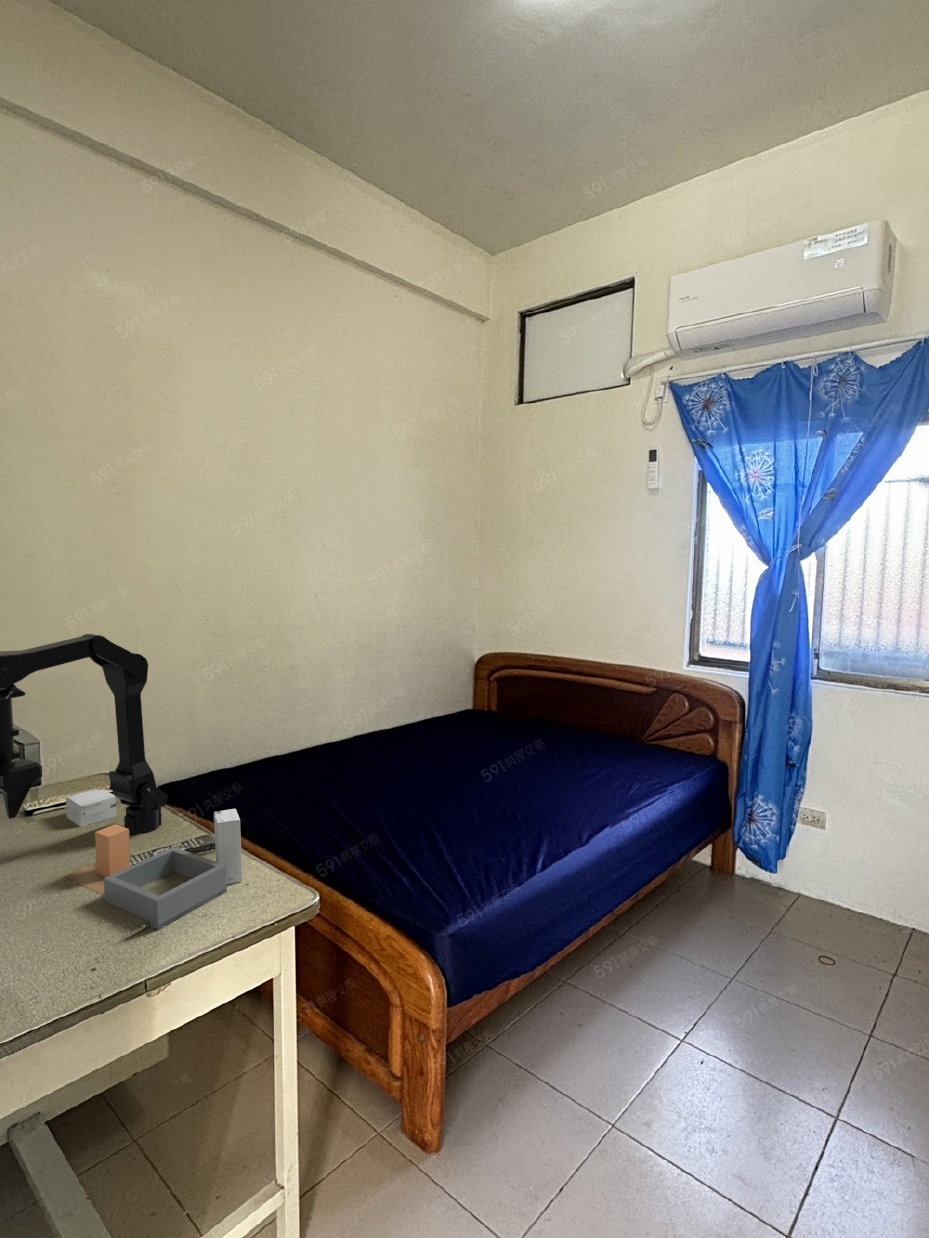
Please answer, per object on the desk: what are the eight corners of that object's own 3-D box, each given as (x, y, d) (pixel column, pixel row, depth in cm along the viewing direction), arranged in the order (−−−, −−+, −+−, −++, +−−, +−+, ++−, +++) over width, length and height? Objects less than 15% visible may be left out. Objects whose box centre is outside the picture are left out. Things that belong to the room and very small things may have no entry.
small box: (80, 828, 144) (79, 805, 144) (65, 818, 149) (64, 796, 149) (117, 817, 150) (116, 795, 150) (102, 808, 155) (101, 786, 155)
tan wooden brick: (116, 864, 126) (115, 824, 126) (130, 869, 125) (129, 829, 124) (96, 873, 123) (95, 831, 122) (110, 878, 121) (108, 837, 120)
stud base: (123, 855, 132) (122, 828, 131) (163, 871, 126) (162, 843, 126) (62, 881, 122) (61, 852, 121) (103, 900, 116) (101, 869, 115)
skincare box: (243, 881, 123) (242, 819, 122) (217, 886, 121) (216, 823, 120) (238, 867, 129) (238, 807, 127) (214, 871, 127) (213, 810, 125)
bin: (174, 871, 126) (174, 846, 126) (226, 891, 120) (226, 865, 119) (104, 905, 114) (103, 878, 113) (158, 930, 107) (157, 901, 107)
